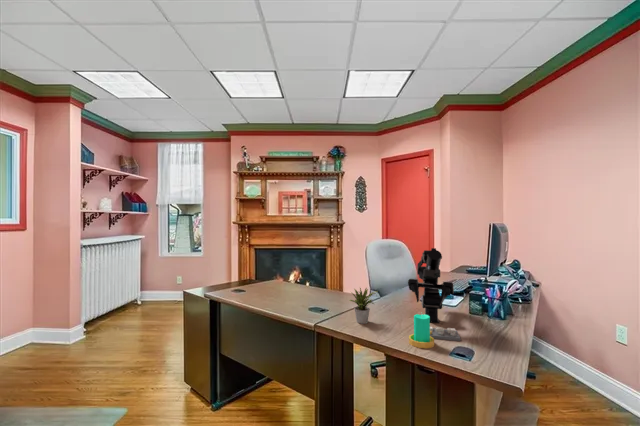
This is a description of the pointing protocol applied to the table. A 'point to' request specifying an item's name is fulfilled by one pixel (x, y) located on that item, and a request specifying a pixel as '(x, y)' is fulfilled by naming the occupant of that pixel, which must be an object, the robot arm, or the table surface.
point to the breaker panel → (444, 333)
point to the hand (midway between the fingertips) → (428, 303)
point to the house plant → (362, 306)
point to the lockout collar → (421, 344)
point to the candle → (422, 328)
